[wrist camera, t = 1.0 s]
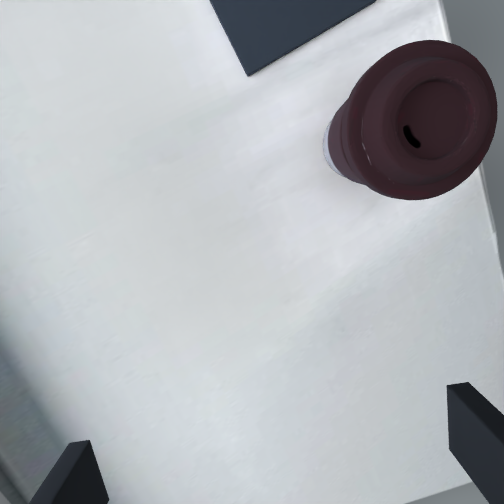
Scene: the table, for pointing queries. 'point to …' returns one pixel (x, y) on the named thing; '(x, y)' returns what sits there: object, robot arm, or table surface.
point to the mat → (278, 25)
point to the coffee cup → (415, 122)
